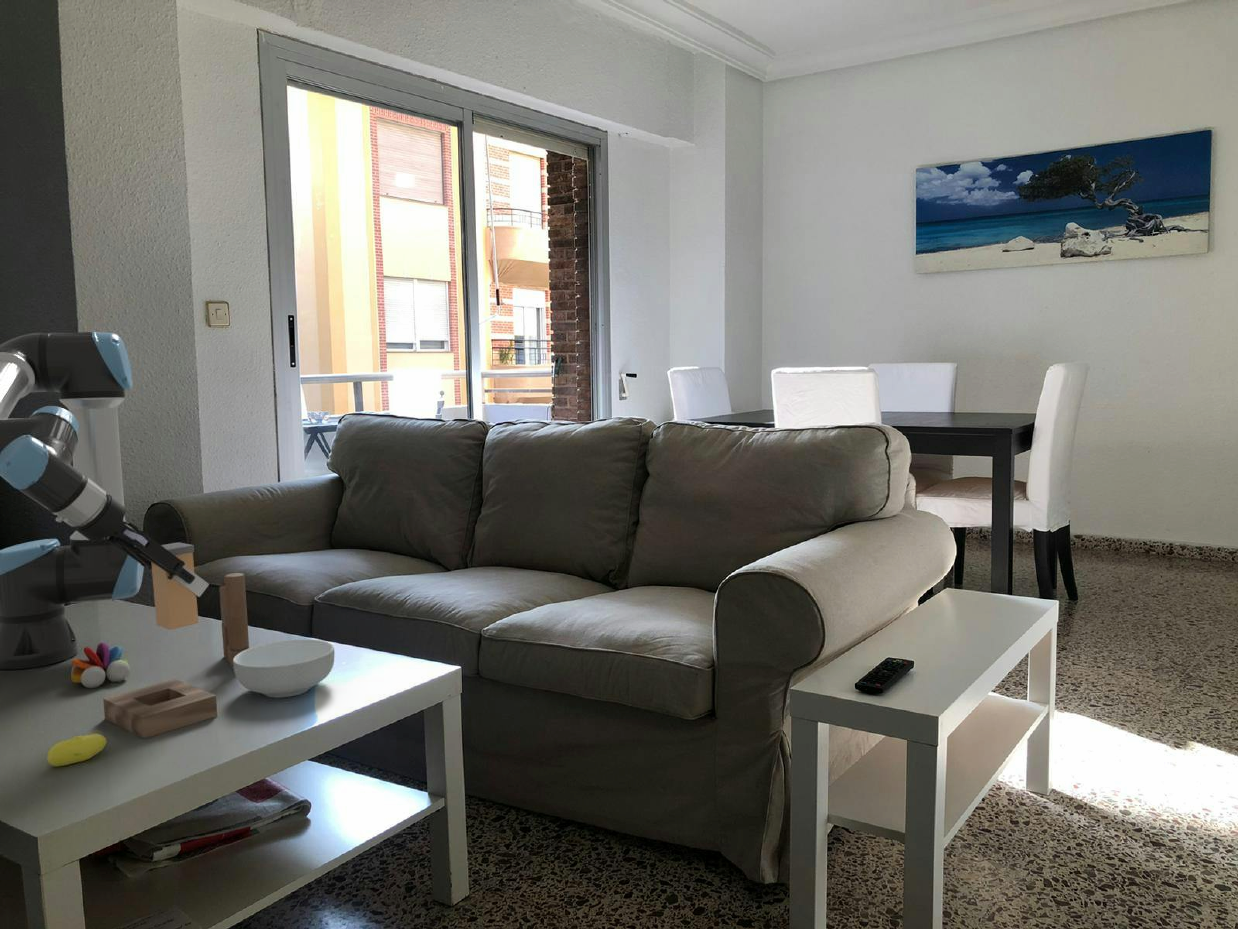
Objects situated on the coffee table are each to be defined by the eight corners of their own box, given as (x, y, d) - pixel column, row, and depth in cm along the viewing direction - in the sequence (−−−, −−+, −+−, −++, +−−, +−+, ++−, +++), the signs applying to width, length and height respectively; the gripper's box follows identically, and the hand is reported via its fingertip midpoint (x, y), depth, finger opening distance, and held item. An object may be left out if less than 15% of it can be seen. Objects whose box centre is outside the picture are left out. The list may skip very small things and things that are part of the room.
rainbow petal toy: (64, 683, 178) (61, 645, 177) (120, 670, 185) (117, 633, 184) (81, 693, 172) (77, 654, 171) (137, 679, 179) (134, 641, 178)
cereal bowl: (341, 671, 181) (339, 635, 180) (330, 702, 164) (328, 662, 164) (246, 678, 178) (243, 641, 177) (225, 711, 161) (222, 670, 161)
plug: (155, 625, 170) (148, 547, 168) (184, 618, 174) (178, 542, 172) (170, 630, 166) (163, 550, 165) (200, 623, 170) (193, 545, 169)
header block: (104, 719, 159) (103, 698, 158) (176, 698, 168) (175, 678, 168) (143, 739, 150) (142, 717, 149) (217, 715, 159) (215, 695, 159)
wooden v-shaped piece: (242, 653, 193) (236, 565, 191) (252, 667, 184) (246, 575, 182) (223, 656, 192) (217, 567, 189) (232, 671, 182) (225, 577, 180)
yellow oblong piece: (44, 765, 141) (41, 740, 141) (103, 749, 147) (101, 724, 146) (52, 774, 138) (50, 748, 138) (112, 757, 144) (110, 732, 143)
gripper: (52, 523, 162) (158, 597, 176) (98, 535, 150) (207, 614, 165) (83, 487, 165) (184, 563, 180) (130, 497, 154) (234, 577, 168)
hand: (195, 587), depth 172 cm, fingers closed on plug, 5 cm apart
